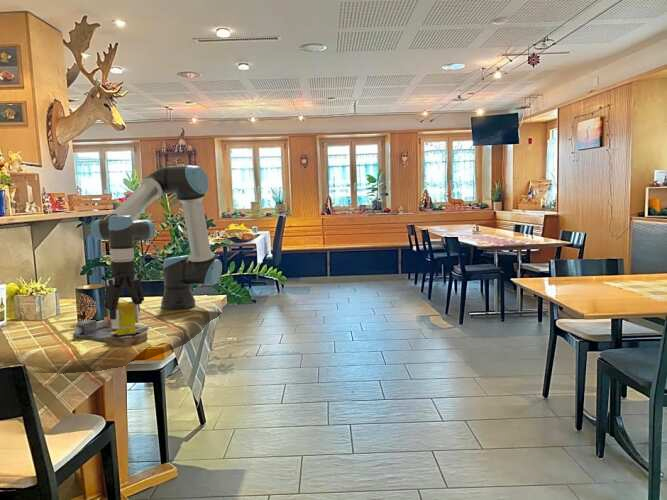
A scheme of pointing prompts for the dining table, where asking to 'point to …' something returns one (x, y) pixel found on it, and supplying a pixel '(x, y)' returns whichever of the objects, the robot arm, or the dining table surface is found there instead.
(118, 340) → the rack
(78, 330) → the drift key
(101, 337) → the socket block
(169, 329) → the dining table surface
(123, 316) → the supplement box
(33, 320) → the dining table surface
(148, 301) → the dining table surface
